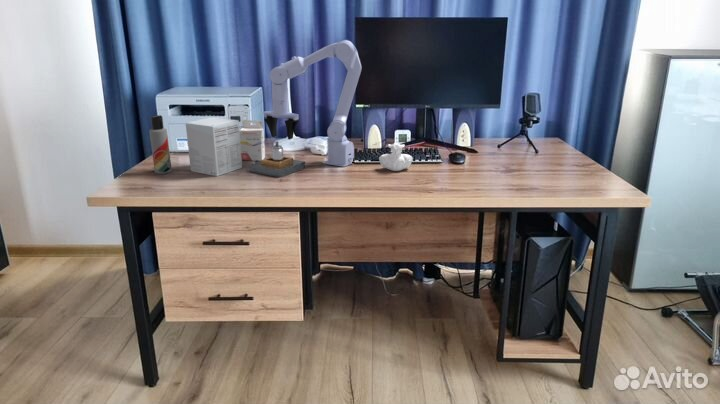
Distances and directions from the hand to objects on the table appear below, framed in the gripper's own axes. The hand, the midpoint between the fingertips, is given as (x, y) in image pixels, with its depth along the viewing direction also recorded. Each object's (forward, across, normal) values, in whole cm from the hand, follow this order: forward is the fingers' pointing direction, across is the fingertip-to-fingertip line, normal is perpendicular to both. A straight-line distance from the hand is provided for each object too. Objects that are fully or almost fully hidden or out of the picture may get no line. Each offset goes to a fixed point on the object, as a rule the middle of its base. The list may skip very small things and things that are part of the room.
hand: (282, 137), depth 199 cm
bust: (+10, +41, +12) cm, 44 cm away
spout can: (+9, +5, -9) cm, 14 cm away
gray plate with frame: (+9, +3, -9) cm, 14 cm away
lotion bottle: (+10, -29, -32) cm, 44 cm away
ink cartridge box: (+10, -13, -2) cm, 16 cm away
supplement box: (+10, -14, -20) cm, 26 cm away
